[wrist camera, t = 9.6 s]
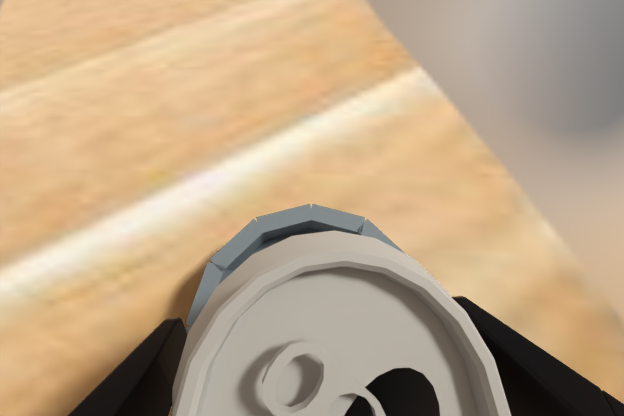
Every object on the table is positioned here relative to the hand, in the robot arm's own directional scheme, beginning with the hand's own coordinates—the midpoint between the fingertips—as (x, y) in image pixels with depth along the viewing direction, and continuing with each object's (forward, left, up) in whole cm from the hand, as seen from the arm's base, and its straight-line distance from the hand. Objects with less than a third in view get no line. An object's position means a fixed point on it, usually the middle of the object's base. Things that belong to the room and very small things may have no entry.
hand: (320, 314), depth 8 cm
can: (-1, 0, -8) cm, 8 cm away
